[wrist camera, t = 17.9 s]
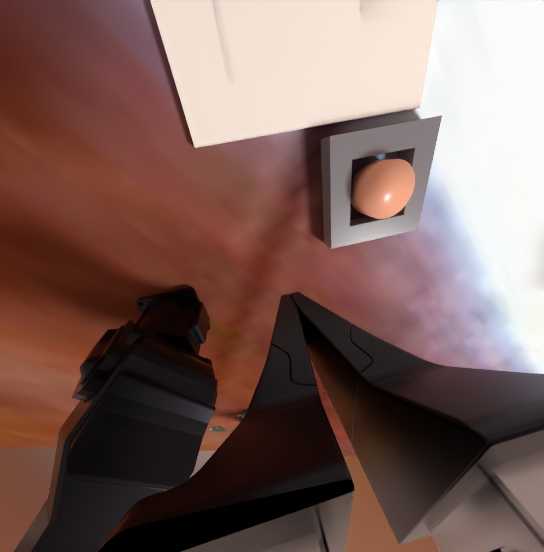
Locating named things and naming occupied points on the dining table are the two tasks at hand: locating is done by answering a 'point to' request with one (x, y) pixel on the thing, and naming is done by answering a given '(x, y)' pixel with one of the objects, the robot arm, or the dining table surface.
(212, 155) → the dining table surface
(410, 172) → the button
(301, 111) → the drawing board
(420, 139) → the button housing
